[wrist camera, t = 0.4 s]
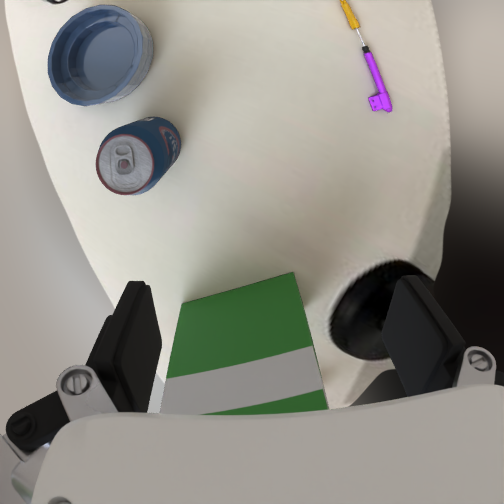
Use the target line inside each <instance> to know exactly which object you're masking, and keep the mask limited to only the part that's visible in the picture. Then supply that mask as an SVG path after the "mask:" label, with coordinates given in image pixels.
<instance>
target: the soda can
mask: <svg viewBox="0 0 504 504" xmlns="http://www.w3.org/2000/svg"><path fill="white" fill-rule="evenodd" d="M180 149H181V140H180V136H179V133H178V131H177V129H176V128H175V127H174V125H173V124H172V123H170V122H169V121H167V120H165V119H163V118H160V117H148V118H144V119H141V120H139V121H136V122H133V123H130V124H127V125H124V126H122V127H119V128H117V129H115V130H113V131H112V132H110V133H109V134H108V135H107V136H106V137H105V139H104V140H103V141H102V143H101V145H100V148H99V151H98V154H97V157H96V171H97V174H98V177H99V179H100V181H101V182H102V184H103V185H104V186H105V187H106V188H107V189H109V190H110V191H112V192H114V193H116V194H120V195H138V194H142V193H144V192H146V191H148V190H150V189H151V188H152V187H153V186H155V184H156V183H157V182H158V181H159V180H160V179H161V177H162V176H163V175H164V174H165V173H166V172H167V170H168V169H169V168H170V167H171V166H172V165H173V163H174V162H175V161H176V160H177V158H178V156H179V153H180Z"/></svg>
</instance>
